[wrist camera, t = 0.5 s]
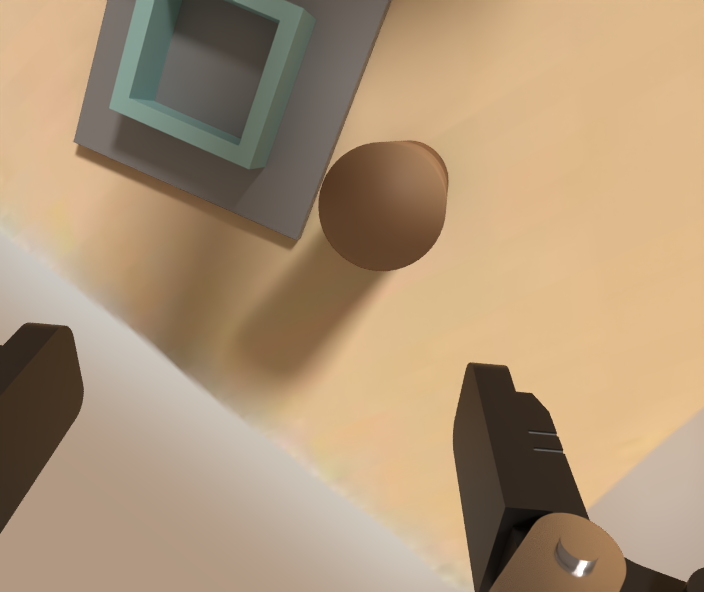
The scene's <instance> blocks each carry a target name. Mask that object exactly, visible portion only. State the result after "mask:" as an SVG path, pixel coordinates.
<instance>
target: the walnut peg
mask: <svg viewBox="0 0 704 592" xmlns="http://www.w3.org/2000/svg"><path fill="white" fill-rule="evenodd" d="M447 192H448V172H447V169H446V166H445V164H444V162H443V160H442V158H441V157H440V156H439V154H438V153H437V152H436V151H435V150H434V149H432V148H431V147H429V146H428V145H426V144H423V143H421V142H417V141H393V142H377V143H370V144H365V145H362V146H359V147H357V148H355V149H353V150H351V151H349V152H348V153H346V154H345V155H343V156H342V157H341V158H340V159H339V160H338V161H336V163H335V164H334V165H333V166H332V167H331V169H330V170H329V172H328V173H327V175H326V177H325V179H324V181H323V184H322V187H321V190H320V195H319V207H318V208H319V217H320V222H321V226H322V228H323V231H324V233H325V235H326V237H327V239H328V241H329V242H330V244H331V245H332V247H333V248H334V249H335V250H336V251H337V252H338V253H339V254H340V255H341V256H342V257H343V258H345V259H346V260H348V261H349V262H351V263H353V264H355V265H357V266H359V267H362V268H365V269H369V270H375V271H390V270H396V269H400V268H403V267H406V266H408V265H410V264H412V263H414V262H416V261H417V260H419V259H420V258H421V257H423V256H424V255H425V254H426V253H427V252H428V251H429V250H430V249H431V248H432V246H433V245H434V244H435V242H436V241H437V239H438V237H439V235H440V233H441V230H442V228H443V224H444V220H445V214H446V203H447Z"/></svg>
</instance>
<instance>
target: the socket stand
mask: <svg viewBox="0 0 704 592" xmlns="http://www.w3.org/2000/svg"><path fill="white" fill-rule="evenodd" d="M390 3H391V0H107V4H106V9H105V13H104V17H103V21H102V25H101V30H100V34H99V38H98V42H97V46H96V51H95V55H94V59H93V63H92V67H91V71H90V76H89V80H88V84H87V88H86V92H85V97H84V101H83V105H82V109H81V113H80V117H79V122H78V126H77V130H76V134H75V138H74V142H75V143H77V144H80V145H82V146H84V147H86V148H89V149H91V150H93V151H96V152H98V153H100V154H102V155H105V156H107V157H109V158H111V159H114V160H116V161H118V162H120V163H123V164H125V165H127V166H129V167H132V168H134V169H136V170H139V171H141V172H143V173H145V174H148V175H150V176H152V177H154V178H157V179H159V180H161V181H163V182H166V183H168V184H170V185H172V186H175V187H177V188H179V189H182V190H184V191H186V192H188V193H191V194H193V195H195V196H197V197H200V198H202V199H204V200H206V201H209V202H211V203H213V204H215V205H218V206H220V207H222V208H225V209H227V210H229V211H231V212H234V213H236V214H238V215H240V216H243V217H245V218H247V219H249V220H252V221H254V222H256V223H258V224H261V225H263V226H265V227H268V228H270V229H272V230H274V231H277V232H279V233H281V234H283V235H286V236H288V237H290V238H292V239H295V240H298V239H300V238H301V235H302V233H303V230H304V228H305V225H306V222H307V220H308V217H309V214H310V212H311V209H312V207H313V204H314V201H315V199H316V196H317V194H318V191H319V188H320V186H321V183H322V181H323V178H324V175H325V173H326V170H327V167H328V165H329V162H330V160H331V157H332V154H333V152H334V149H335V147H336V144H337V141H338V139H339V136H340V134H341V131H342V128H343V126H344V123H345V120H346V118H347V115H348V113H349V110H350V107H351V105H352V102H353V100H354V97H355V94H356V92H357V89H358V86H359V84H360V81H361V79H362V76H363V73H364V71H365V68H366V66H367V63H368V60H369V58H370V55H371V53H372V50H373V47H374V45H375V42H376V39H377V37H378V34H379V32H380V29H381V26H382V24H383V21H384V19H385V16H386V13H387V11H388V8H389V5H390Z"/></svg>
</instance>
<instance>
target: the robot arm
mask: <svg viewBox="0 0 704 592" xmlns="http://www.w3.org/2000/svg"><path fill="white" fill-rule="evenodd" d="M83 390H84V388H83V382H82V377H81V372H80V367H79V362H78V357H77V352H76V346H75V342H74V337H73V333H72V331H71V329H70V328H69V327H68V326H62V325H51V324H40V323H26V324H24V325H23V326H21V327H20V328H19V330H17V332H16V333H15V334H14V335H13V336H12V337H11V338H10V339H9V340H8V341H7V342H6V343H5V344H4V345H3V346H2V345H0V533H1V532H2V530H3V529H4V527H5V525H6V524H7V523H8V521H9V519H10V518H11V516H12V515H13V513H14V512H15V510H16V509H17V507H18V506H19V504H20V503H21V501H22V499H23V498H24V497H25V495H26V494H27V492H28V491H29V489H30V487H31V486H32V485H33V483H34V482H35V480H36V478H37V477H38V475H39V474H40V472H41V470H42V469H43V468H44V466H45V465H46V463H47V462H48V460H49V458H50V457H51V456H52V454H53V453H54V451H55V449H56V448H57V447H58V445H59V443H60V442H61V440H62V439H63V437H64V436H65V434H66V432H67V431H68V430H69V428H70V426H71V425H72V424H73V422H74V421H75V419H76V418H77V415H78V414H79V412H80V409H81V405H82V401H83V394H84V393H83V392H84V391H83ZM556 434H557V432H556V429H555V426H554V424H553V421H552V418H551V416H550V413H549V411H548V410H547V409H546V408H545V407H544V406H543V405H542V404H541V403H540V401H539V400H538V399H537V398H536V397H535V396H534V395H533V394H532V393H524V392H516V391H515V387H514V384H513V381H512V378H511V375H510V372H509V369H508V367H507V366H504V365H493V364H482V363H469V364H468V365H467V368H466V371H465V375H464V380H463V384H462V389H461V393H460V398H459V402H458V407H457V411H456V416H455V420H454V428H453V451H454V458H455V464H456V471H457V477H458V484H459V491H460V497H461V504H462V511H463V517H464V524H465V530H466V537H467V544H468V550H469V557H470V563H471V570H472V577H473V583H474V590H475V592H704V568H701V569H698V570H697V571H695V572H694V573H693V574H692V575H691V577H690V578H689V580H688V582H684V581H681V580H678V579H676V578H673V577H670V576H668V575H665V574H662V573H660V572H657V571H654V570H651V569H649V568H646V567H643V566H641V565H638V564H636V563H634V562H632V561H630V560H628V559H627V558H625V557H624V556H623V553H622V551H621V550H620V548H619V546H618V545H617V543H616V542H615V541H614V539H613V538H612V537H611V536H610V535H609V534H608V533H607V532H606V531H604V530H603V529H602V528H601V527H599V526H597V525H596V524H595V523H593V522H591V521H590V520H589V517H588V515H587V512H586V509H585V507H584V504H583V501H582V499H581V496H580V493H579V491H578V488H577V485H576V483H575V480H574V477H573V475H572V472H571V469H570V467H569V464H568V461H567V459H566V456H565V454H563V448H562V445H561V442H560V440H559V437H557V435H556Z"/></svg>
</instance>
